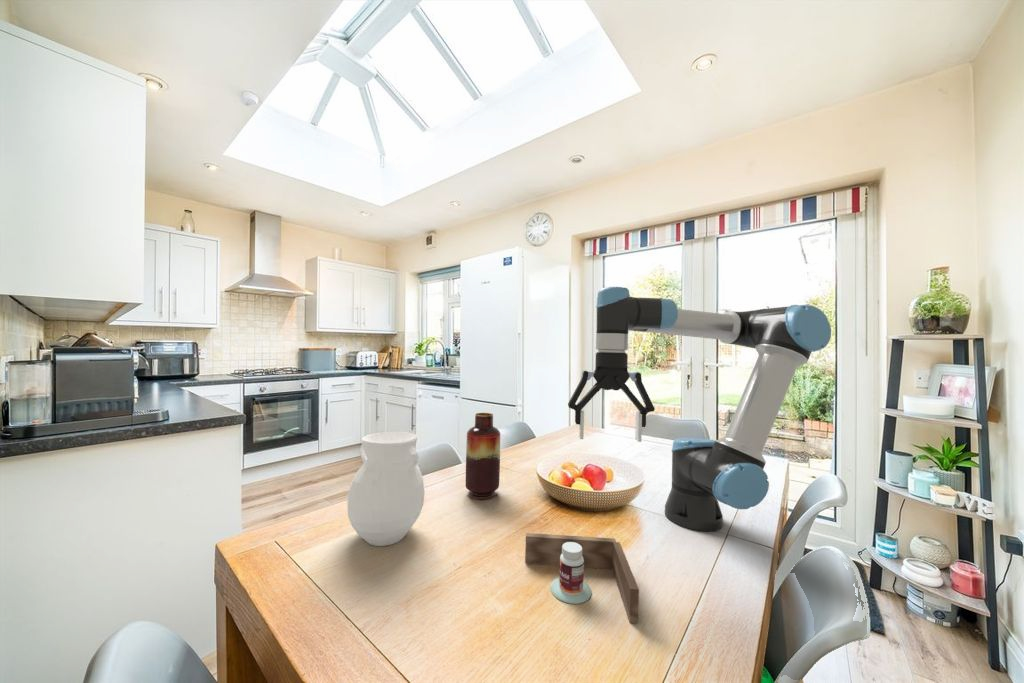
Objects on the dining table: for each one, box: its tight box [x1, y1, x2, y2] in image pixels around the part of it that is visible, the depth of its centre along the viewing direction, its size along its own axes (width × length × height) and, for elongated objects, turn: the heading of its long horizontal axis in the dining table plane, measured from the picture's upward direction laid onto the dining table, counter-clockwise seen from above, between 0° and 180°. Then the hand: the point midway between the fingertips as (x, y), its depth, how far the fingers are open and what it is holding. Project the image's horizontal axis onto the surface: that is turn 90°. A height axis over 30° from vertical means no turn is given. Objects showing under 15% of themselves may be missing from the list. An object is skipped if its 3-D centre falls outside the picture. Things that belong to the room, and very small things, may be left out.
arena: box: [524, 532, 640, 624], centre depth 76 cm, size 21×18×6 cm
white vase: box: [347, 430, 425, 547], centre depth 94 cm, size 19×18×25 cm
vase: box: [465, 412, 501, 501], centre depth 122 cm, size 11×11×26 cm
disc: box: [550, 577, 592, 605], centre depth 75 cm, size 8×8×1 cm
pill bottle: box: [558, 542, 585, 596], centre depth 75 cm, size 5×5×8 cm
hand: (609, 439), depth 90 cm, fingers open, 13 cm apart
